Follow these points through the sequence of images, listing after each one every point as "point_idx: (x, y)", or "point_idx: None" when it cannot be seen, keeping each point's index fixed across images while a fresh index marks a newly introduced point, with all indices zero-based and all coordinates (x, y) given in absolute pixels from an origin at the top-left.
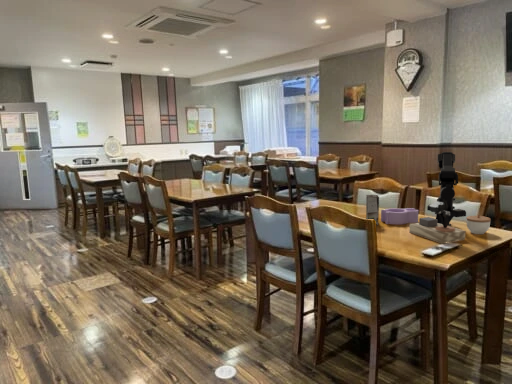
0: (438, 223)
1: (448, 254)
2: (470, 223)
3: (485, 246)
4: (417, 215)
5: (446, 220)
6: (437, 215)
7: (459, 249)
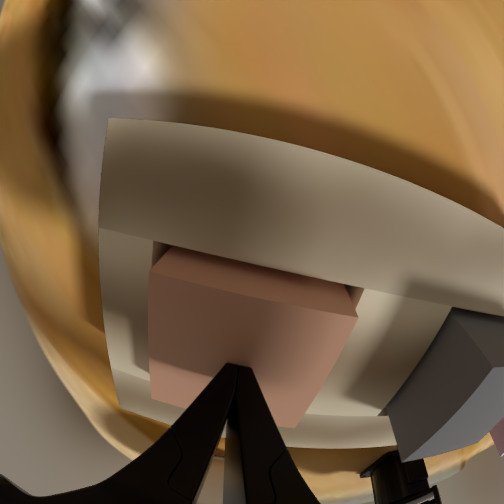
0: (394, 443)
1: (38, 3)
2: (217, 497)
3: (28, 305)
4: (497, 435)
5: (149, 450)
6: (423, 485)
7: (28, 124)
